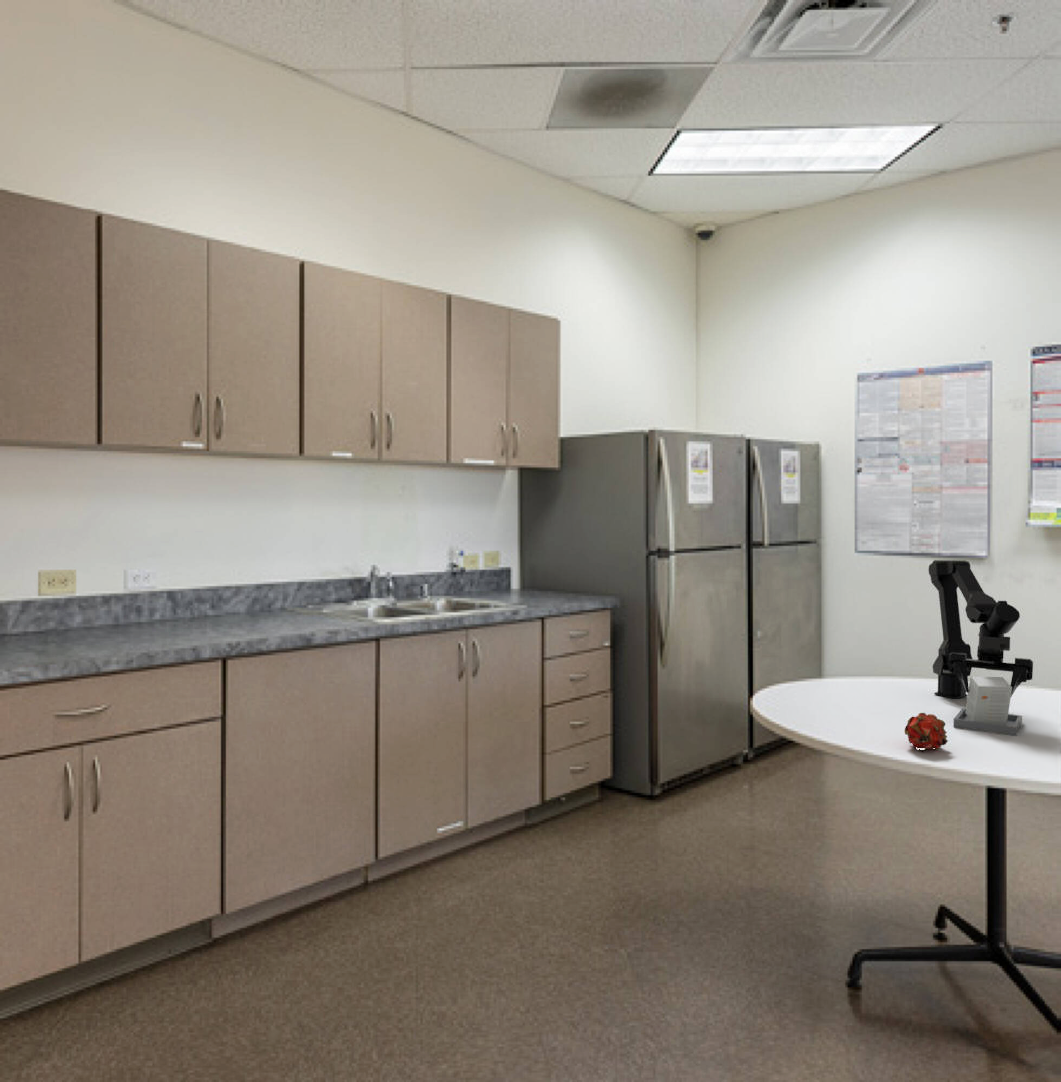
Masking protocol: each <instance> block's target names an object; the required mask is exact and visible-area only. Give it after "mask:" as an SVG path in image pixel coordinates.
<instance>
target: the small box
mask: <svg viewBox="0 0 1061 1082" xmlns="http://www.w3.org/2000/svg"><path fill="white" fill-rule="evenodd" d="M969 677H970V678H969V682H968V687H969V690H968V693H967V694H968V696H966V697H967V698H966V699H967V700H966V705H965V709H966V712H965V714H966V715H967V716H968V717H969V719H970V720H971V721H978V722H986V723H993V724H1001V725H1006V724H1007V718H1008V714H1009V711H1010V703H1011V699H1012V697H1011V693H1012V687H1011V686H1010V685H1011V683H1009V682H1008V681H1007V680H1006V679H1005V678H1004V677H1002V676H1001V677H1000V676H998V677H997V676H969Z"/></svg>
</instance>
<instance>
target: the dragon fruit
mask: <svg viewBox="0 0 1061 1082" xmlns="http://www.w3.org/2000/svg"><path fill="white" fill-rule="evenodd" d="M945 726H946V722H945V721H944V720H942V719H940V718H938V717H937V715H935V714H931V713H929V714H927V713H926V712H920V713H918V714H917V716H912V717H910V718H908V720H907V723H906V726H905V727H904V734H905V735H907V738H908V743H909V744H911V743H912V744H911V745H912V747H914V748H915V747H917V748H926V750H927V749H928V750H933V749H932V748H935V749H937V750H939V749H940V748H941V747H942V746H945V745H947V743H948V741H949V740H948V739H947V738H948V736H947V735H946V734H947V733H948V732H947V731H946V729H945ZM919 750H920V749H919Z"/></svg>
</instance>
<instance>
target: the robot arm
mask: <svg viewBox="0 0 1061 1082" xmlns="http://www.w3.org/2000/svg"><path fill="white" fill-rule="evenodd" d="M928 574H929V576H930V581H931V584H932V585H933V587H935V588H936V590H937V591H938V599H939V609H940V616H941V617H940V619H941V627H942V637H943V639H942V640H943V641H942V642H941V644H940V646H939V648H938V652H937V653H938V656H937V657H936V658H935V661H934V662H933V664H932V671H933V674H936V675H937V692H933V693H934V695H935V696H940V697H941V696H942V697H946V698H951V699H955V700H956V699H960V698H964V697H968V690H969V678H968V677H971V674H972V668H974V669H975V668H976V669H985V670H988V671H1001V672H1011V673H1012V674H1011V675H1012V676H1011V680H1010V686H1011V687H1012V693H1011V698H1012V697H1013V695H1014V693H1015V691H1016V690H1017V688H1018V687H1019V686H1020V685H1021V684H1022V683H1026V682H1028V681H1031V680H1033V673H1034V672H1033V670H1034V661H1033V660H1032V659H1031V658H1020V657H1014V663H1012V662H1011V663H1010V662H1004V653H1005V652H1006V651H1009V652H1010V650H1011V637H1010V636H1005V634H1008V633H1009V632H1010V631H1011V630H1012V629H1013V627H1014V626H1015V625H1016V624H1017V623H1018V621H1019V619H1020V618H1021V616H1020V611H1019V610H1018V609H1017V608H1016V607H1014V606H1013V605H1010V604H1008V601H1007V600H998V601H996V599H994V597H992V596H991V595H988V594H986V593H985V592H984V589H983V588H982V587H981V585H980V583H979V581H978V580H977V578H976V576H975V574H974V572H973V571H972V569H971V564H970V562H969V561H968V560H961V559H960V560H958V559H957V560H955V559H953V560H952V559H951V560H950V559H949V560H948V559H945V560H944V559H939V560H938V559H937V560H936V559H934V560H933V561H932V563H930V564H929V565H928ZM958 589H959V591H960V592H961V594H962V596H963V598H964V600H965V602H966V606H965V609H964V610H965V615H966V617H967V619H968V620H969V622H971V623H972V624H980V626H979V632H978V635H977V636H978V646H977V654H976V656H977V659H973V656H972V650H971V649H972V647H971V645H970V643H966V642H965V641H964V640H963V635H962V626H961V617H960V615H961V614H960V607H959V597H958ZM1004 651H1005V652H1004Z"/></svg>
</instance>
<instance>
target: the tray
mask: <svg viewBox="0 0 1061 1082" xmlns="http://www.w3.org/2000/svg"><path fill="white" fill-rule="evenodd" d="M965 712H966V707H964V708H961V709H960V711H959V712H958V713H957V714H956V716H954V718H953V728H957V727H960V728H959V729H964V728H966V730H973V731H979V730H980V732H986V731H987V732H988V733H993V732H995V734H1002V735H1010V736H1018V733H1019V732H1020V729H1021V728H1022V725H1023V715H1021V714H1013V713H1008V718H1007V724H1006V725H1001V724H993V723H986V722H978V721H971V720H970V719H969V717H968V716H967V715H966V714H965Z"/></svg>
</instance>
